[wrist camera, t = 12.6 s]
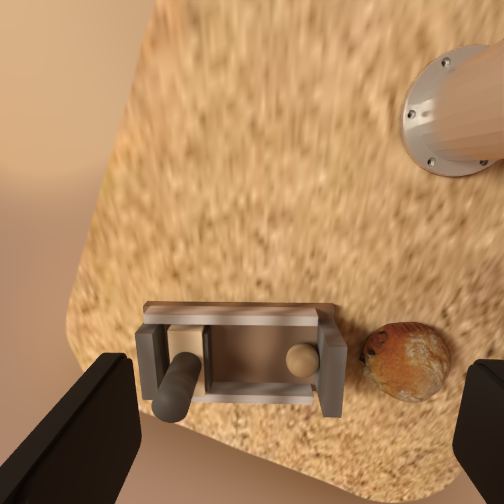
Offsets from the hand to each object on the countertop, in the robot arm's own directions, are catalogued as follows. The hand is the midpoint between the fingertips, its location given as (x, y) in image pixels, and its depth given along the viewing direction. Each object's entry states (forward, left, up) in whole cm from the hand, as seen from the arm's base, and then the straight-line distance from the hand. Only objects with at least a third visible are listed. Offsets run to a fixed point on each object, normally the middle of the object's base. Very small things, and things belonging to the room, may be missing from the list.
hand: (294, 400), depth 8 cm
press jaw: (+10, +16, -26) cm, 32 cm away
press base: (+4, +16, -28) cm, 33 cm away
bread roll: (-17, +17, -29) cm, 37 cm away
